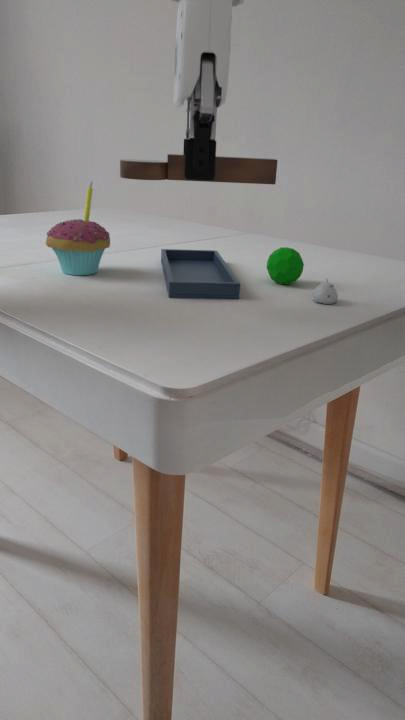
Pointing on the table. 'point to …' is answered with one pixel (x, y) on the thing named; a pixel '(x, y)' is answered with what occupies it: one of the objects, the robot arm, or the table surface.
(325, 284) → the white bumpy lump
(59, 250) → the cupcake
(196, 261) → the tray
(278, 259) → the polyhedron
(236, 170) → the disc-ended wooden bar
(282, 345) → the table surface
